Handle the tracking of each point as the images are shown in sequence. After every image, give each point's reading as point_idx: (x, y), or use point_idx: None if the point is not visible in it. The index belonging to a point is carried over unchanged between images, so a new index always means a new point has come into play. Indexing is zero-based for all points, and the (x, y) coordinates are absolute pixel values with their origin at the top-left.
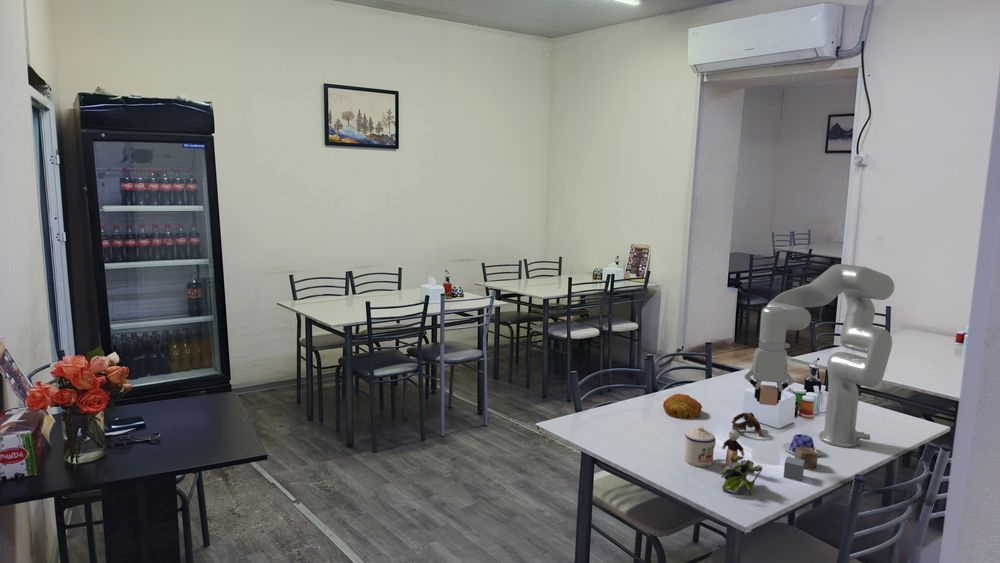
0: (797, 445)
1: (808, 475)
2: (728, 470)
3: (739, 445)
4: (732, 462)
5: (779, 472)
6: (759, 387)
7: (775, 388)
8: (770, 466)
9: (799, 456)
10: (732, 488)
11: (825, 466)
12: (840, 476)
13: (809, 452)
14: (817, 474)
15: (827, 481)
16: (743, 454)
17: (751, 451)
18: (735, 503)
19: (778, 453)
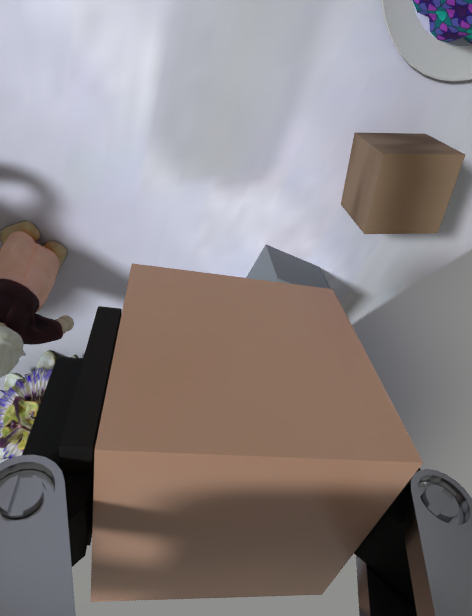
0: (455, 5)
1: (338, 265)
2: (3, 453)
3: (35, 343)
4: (17, 398)
5: (236, 258)
6: (78, 557)
7: (330, 555)
8: (218, 207)
9: (359, 206)
10: None
11: (462, 172)
12: (453, 255)
13: (411, 218)
14: (378, 252)
15: (379, 299)
16: (67, 329)
17: (169, 12)
18: None
19: (320, 26)
